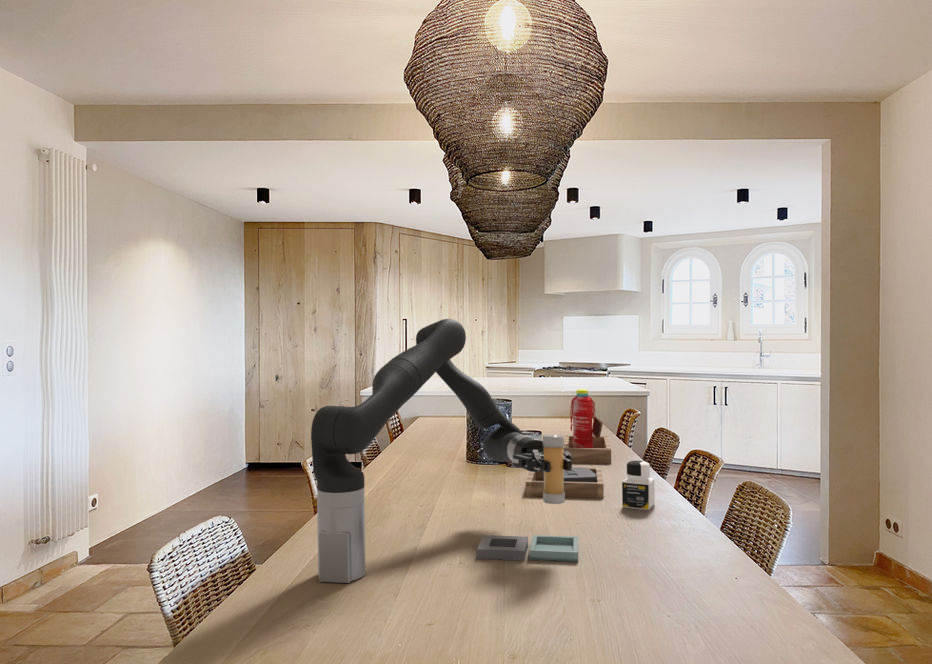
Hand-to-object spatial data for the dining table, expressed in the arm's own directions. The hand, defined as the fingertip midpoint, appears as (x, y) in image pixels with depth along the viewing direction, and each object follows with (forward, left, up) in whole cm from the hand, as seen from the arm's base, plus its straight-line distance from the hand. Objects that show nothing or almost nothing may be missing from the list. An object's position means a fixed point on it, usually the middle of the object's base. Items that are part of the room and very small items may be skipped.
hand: (559, 466), depth 146 cm
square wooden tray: (+63, 0, -19) cm, 66 cm away
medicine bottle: (+44, -20, -19) cm, 52 cm away
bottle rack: (+118, -7, -19) cm, 120 cm away
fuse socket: (+1, +12, -19) cm, 23 cm away
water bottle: (+118, -7, -19) cm, 120 cm away
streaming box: (+63, -1, -19) cm, 65 cm away
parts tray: (+2, +1, -19) cm, 19 cm away
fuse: (+3, +1, -8) cm, 8 cm away
